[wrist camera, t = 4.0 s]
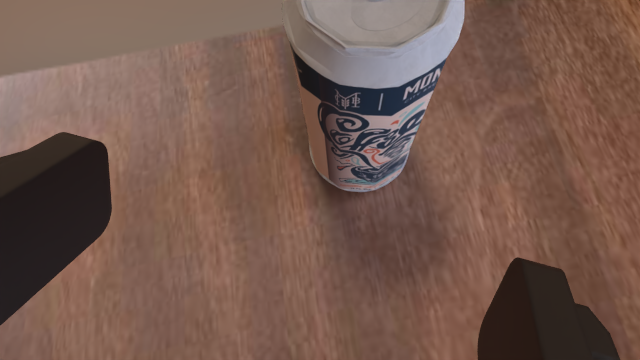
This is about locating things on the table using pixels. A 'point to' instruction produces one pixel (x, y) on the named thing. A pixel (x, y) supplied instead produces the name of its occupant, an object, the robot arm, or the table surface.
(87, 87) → the table surface
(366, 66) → the beer can
